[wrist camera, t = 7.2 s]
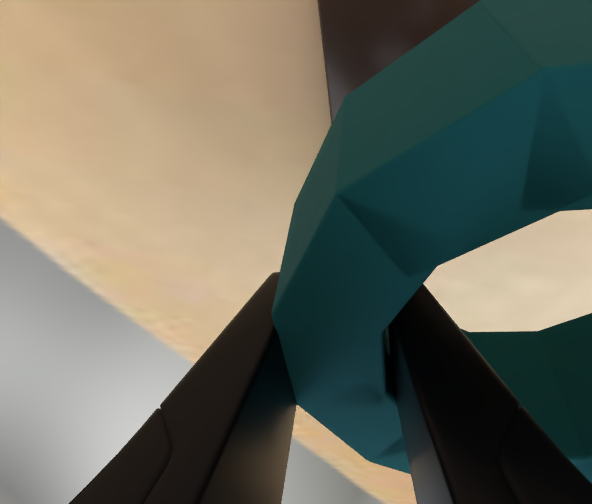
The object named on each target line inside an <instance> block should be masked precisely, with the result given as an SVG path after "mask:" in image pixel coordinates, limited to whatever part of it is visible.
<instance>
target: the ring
mask: <svg viewBox="0 0 592 504" xmlns="http://www.w3.org/2000/svg"><path fill="white" fill-rule="evenodd" d="M584 209H592V0H480V1H478V2H477V3H476V4H474V5H473V6H471V7H470V8H469V9H467V10H466V11H464V12H463V13H462V14H460V15H459V16H457V17H456V18H455V19H453V20H452V21H450V22H449V23H448V24H446V25H445V26H443V27H442V28H441V29H439V30H438V31H436V32H435V33H434V34H432V35H431V36H429V37H428V38H427V39H425V40H424V41H422V42H421V43H420V44H418V45H417V46H415V47H414V48H413V49H411V50H410V51H408V52H407V53H406V54H404V55H403V56H401V57H400V58H399V59H397V60H396V61H394V62H393V63H392V64H390V65H389V66H387V67H386V68H385V69H383V70H382V71H380V72H379V73H377V74H376V75H375V76H373V77H372V78H370V79H369V80H368V81H366V82H365V83H363V84H362V85H361V86H359V87H358V88H356V89H355V90H354V91H352V92H351V93H349V94H348V95H347V96H345V97H344V99H343V101H342V104H341V106H340V108H339V110H338V112H337V114H336V116H335V119H334V121H333V123H332V125H331V127H330V129H329V131H328V133H327V136H326V138H325V140H324V142H323V144H322V146H321V148H320V151H319V153H318V155H317V157H316V159H315V161H314V163H313V165H312V168H311V170H310V172H309V174H308V176H307V178H306V180H305V183H304V185H303V187H302V189H301V191H300V193H299V195H298V197H297V200H296V202H295V204H294V209H293V213H292V218H291V223H290V227H289V232H288V237H287V242H286V246H285V251H284V256H283V260H282V265H281V270H280V275H279V279H278V284H277V289H276V293H275V298H274V303H273V307H272V313H271V314H272V318H273V322H274V325H275V329H276V331H277V333H278V336H279V340H280V344H281V348H282V351H283V355H284V359H285V362H286V366H287V370H288V373H289V377H290V381H291V384H292V388H293V392H294V395H295V399H296V403H297V404H296V405H299V406H300V407H301V408H303V409H304V410H305V411H306V412H308V413H309V414H310V415H311V416H313V417H314V418H315V419H316V420H318V421H319V422H320V423H321V424H323V425H324V426H325V427H326V428H328V429H329V430H330V431H331V432H333V433H334V434H335V435H336V436H338V437H339V438H340V439H341V440H343V441H344V442H345V443H346V444H348V445H349V446H350V447H351V448H353V449H354V450H355V451H356V452H358V453H359V454H360V455H361V456H363V457H364V458H365V459H366V460H368V461H370V462H373V463H376V464H379V465H382V466H386V467H389V468H392V469H396V470H399V471H402V472H405V473H409V474H411V472H410V467H409V462H408V457H407V452H406V447H405V443H404V438H403V433H402V428H401V423H400V418H399V414H398V409H397V404H396V397H395V392H394V386H393V380H392V372H391V360H390V347H389V334H388V325H389V324H390V323H391V321H392V320H393V319H394V318H395V317H396V315H397V314H398V313H399V312H400V311H401V309H402V308H403V307H404V306H405V304H406V303H407V302H408V301H409V300H410V298H411V297H412V296H413V295H414V293H415V292H416V291H417V290H418V289H419V287H420V286H421V285H422V284H423V283H424V281H425V280H426V279H427V278H428V276H429V275H430V274H431V273H432V272H433V270H434V269H435V268H436V267H437V266H438V265H440V264H443V263H445V262H447V261H449V260H451V259H454V258H456V257H458V256H460V255H463V254H465V253H467V252H469V251H472V250H474V249H476V248H478V247H480V246H483V245H485V244H487V243H489V242H492V241H494V240H496V239H498V238H501V237H503V236H505V235H507V234H509V233H512V232H514V231H516V230H518V229H521V228H523V227H525V226H527V225H529V224H532V223H534V222H536V221H538V220H541V219H543V218H545V217H547V216H550V215H552V214H554V213H556V212H558V211H567V210H584ZM461 331H462V332H463V333H464V334H465V335H466V337H467V338H468V339H469V340H470V342H471V343H472V344H473V345H474V346H475V348H476V349H477V350H478V351H479V353H480V354H481V355H482V356H483V357H484V359H485V360H486V361H487V362H488V364H489V365H490V366H491V367H492V368H493V370H494V371H495V372H496V373H497V375H498V376H499V377H500V378H501V379H502V381H503V382H504V383H505V384H506V385H507V387H508V388H509V389H510V390H511V392H512V393H513V394H514V395H515V396H516V398H517V399H518V400H519V401H520V403H521V405H520V407H521V406H523V407H525V408H526V410H527V411H528V412H529V413H530V414H531V416H532V417H533V418H534V419H535V421H536V422H537V423H538V424H539V426H540V427H541V428H542V429H543V430H544V431H545V433H546V434H547V435H548V436H549V437H550V438H551V439H552V441H553V442H554V443H555V444H556V445H557V446H558V448H559V449H560V450H561V451H562V452H563V453H564V454H565V456H566V457H567V458H568V459H569V460H570V461H571V462H572V463H573V464H574V465H575V466H576V467H577V469H578V470H579V471H580V472H581V473H582V474H583V475H584V476H585V477H586V478H587V479H588V480H589V481H590V482H591V483H592V313H591V314H588V315H585V316H582V317H579V318H576V319H573V320H570V321H567V322H564V323H561V324H558V325H555V326H552V327H549V328H546V329H543V330H540V331H528V332H467V331H465V330H462V329H461Z"/></svg>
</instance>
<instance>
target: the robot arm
mask: <svg viewBox="0 0 592 504" xmlns="http://www.w3.org/2000/svg"><path fill="white" fill-rule="evenodd" d="M279 275H280V272H275V273H272V274H271V275H270V276H269V277H268V278H267V279H266V281H265V282H264V283H263V284H262V285H261V287H260V288H259V289H258V290H257V291H256V292H255V294H254V295H253V296H252V297H251V298H250V300H249V301H248V302H247V303H246V304H245V305H244V307H243V308H242V309H241V310H240V311H239V313H238V314H237V315H236V316H235V317H234V318H233V320H232V321H231V322H230V323H229V324H228V326H227V327H226V328H225V329H224V330H223V331H222V333H221V334H220V335H219V336H218V337H217V339H216V340H215V341H214V342H213V343H212V344H211V346H210V347H209V348H208V349H207V350H206V352H205V353H204V354H203V355H202V356H201V357H200V359H199V360H198V361H197V362H196V363H195V365H194V366H193V367H192V368H191V369H190V371H189V372H188V373H187V374H186V375H185V377H184V378H183V379H182V380H181V381H180V382H179V383H178V385H177V386H176V387H175V388H174V390H173V391H172V392H171V393H170V394H169V395H168V397H167V398H166V399H165V400H164V401H163V402H162V404H161V405H160V407H161V409H159V408H158V409H156V410H155V412H154V413H153V414H152V415H151V416H150V417H149V419H148V420H147V421H146V422H145V423H144V425H143V426H142V427H141V428H140V429H139V430H138V431H137V433H136V434H135V435H134V436H133V437H132V438H131V439H130V440H129V442H128V443H127V444H126V445H125V446H124V447H123V448H122V449H121V451H120V452H119V453H118V454H117V455H116V456H115V457H114V458H113V459H112V460H111V461H110V462H109V463H108V464H107V465H106V466H105V467H104V468H103V469H102V470H101V472H100V473H99V474H98V475H97V476H96V477H95V478H94V479H93V480H92V481H91V482H90V483H89V484H88V485H87V486H86V487H85V488H84V489H83V490H82V491H81V492H80V493H79V494H78V495H77V496H76V497H75V498H74V499H73V500H72V501H71V502H70V503H69V504H281V501H282V494H283V488H284V481H285V474H286V469H287V462H288V456H289V449H290V443H291V436H292V430H293V424H294V417H295V411H296V404H297V403H296V399H295V395H294V392H293V388H292V384H291V381H290V377H289V373H288V370H287V366H286V362H285V359H284V355H283V351H282V348H281V344H280V340H279V336H278V333H277V331H276V329H275V325H274V322H273V318H272V314H271V313H272V307H273V303H274V298H275V293H276V289H277V284H278V279H279ZM388 334H389V347H390V360H391V372H392V380H393V386H394V392H395V397H396V404H397V409H398V414H399V418H400V423H401V428H402V433H403V438H404V443H405V447H406V452H407V457H408V462H409V467H410V472H411V476H412V481H413V486H414V491H415V496H416V501H417V504H592V483H591V482H590V481H589V480H588V479H587V478H586V477H585V476H584V475H583V474H582V473H581V472H580V471H579V470H578V469H577V467H576V466H575V465H574V464H573V463H572V462H571V461H570V460H569V459H568V458H567V457H566V456H565V454H564V453H563V452H562V451H561V450H560V449H559V448H558V446H557V445H556V444H555V443H554V442H553V441H552V439H551V438H550V437H549V436H548V435H547V434H546V433H545V431H544V430H543V429H542V428H541V427H540V426H539V424H538V423H537V422H536V421H535V419H534V418H533V417H532V416H531V414H530V413H529V412H528V411H527V410H526V408H525V407H523V406H521V407H520V405H521V403H520V401H519V400H518V399H517V398H516V396H515V395H514V394H513V393H512V392H511V390H510V389H509V388H508V387H507V385H506V384H505V383H504V382H503V381H502V379H501V378H500V377H499V376H498V375H497V373H496V372H495V371H494V370H493V368H492V367H491V366H490V365H489V364H488V362H487V361H486V360H485V359H484V357H483V356H482V355H481V354H480V353H479V351H478V350H477V349H476V348H475V346H474V345H473V344H472V343H471V342H470V340H469V339H468V338H467V337H466V335H465V334H464V333H463V332H462V331H461V329H460V328H459V327H458V326H457V324H456V323H455V322H454V321H453V320H452V318H451V317H450V316H449V315H448V314H447V312H446V311H445V310H444V309H443V307H442V306H441V305H440V304H439V303H438V301H437V300H436V299H435V298H434V296H433V295H432V294H431V293H430V292H429V290H428V289H427V288H426V287H425V285H424V284H422V285H421V286H420V287H419V289H418V290H417V291H416V292H415V293H414V295H413V296H412V297H411V298H410V300H409V301H408V302H407V303H406V304H405V306H404V307H403V308H402V309H401V311H400V312H399V313H398V314H397V315H396V317H395V318H394V319H393V320H392V321H391V323H390V324H389V325H388Z"/></svg>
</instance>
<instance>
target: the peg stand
mask: <svg viewBox="0 0 592 504" xmlns="http://www.w3.org/2000/svg"><path fill="white" fill-rule="evenodd" d="M478 1H480V0H318V8H319V17H320V26H321V35H322V43H323V52H324V61H325V70H326V79H327V88H328V97H329V105H330V114H331V123H333V121H334V119H335V116H336V114H337V112H338V110H339V108H340V106H341V104H342V101H343V99H344V97H345V96H347V95H348V94H349V93H351V92H352V91H354V90H355V89H356V88H358V87H359V86H361V85H362V84H363V83H365V82H366V81H368V80H369V79H370V78H372V77H373V76H375V75H376V74H377V73H379V72H380V71H382V70H383V69H385V68H386V67H387V66H389V65H390V64H392V63H393V62H394V61H396V60H397V59H399V58H400V57H401V56H403V55H404V54H406V53H407V52H408V51H410V50H411V49H413V48H414V47H415V46H417V45H418V44H420V43H421V42H422V41H424V40H425V39H427V38H428V37H429V36H431V35H432V34H434V33H435V32H436V31H438V30H439V29H441V28H442V27H443V26H445V25H446V24H448V23H449V22H450V21H452V20H453V19H455V18H456V17H457V16H459V15H460V14H462V13H463V12H464V11H466V10H467V9H469V8H470V7H471V6H473V5H474V4H476V3H477V2H478Z"/></svg>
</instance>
